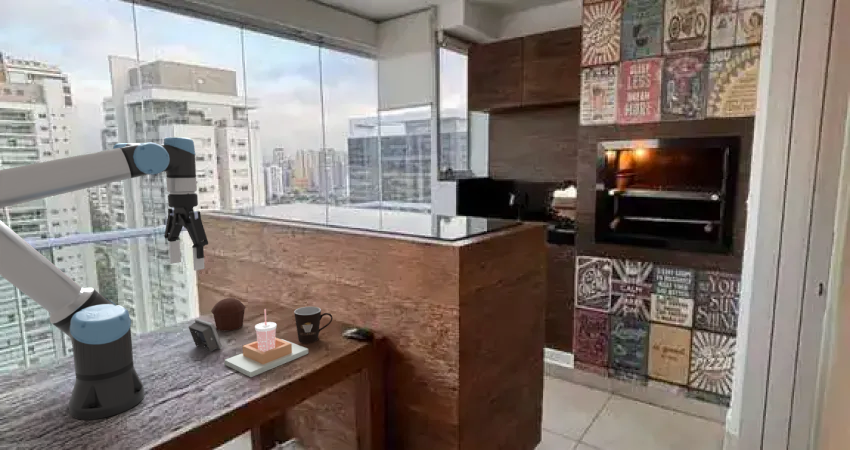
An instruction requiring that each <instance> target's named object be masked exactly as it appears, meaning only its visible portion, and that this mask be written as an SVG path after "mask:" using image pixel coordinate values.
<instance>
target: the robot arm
mask: <svg viewBox="0 0 850 450" xmlns="http://www.w3.org/2000/svg"><path fill="white" fill-rule="evenodd" d="M196 154H197V153H196V150H195V142H194V140H193V139H192V138H190V137H178V136H177V137H173V136H171V137H169V136H167V137H164V139H163V143H161V144H158V143H156V142H151V141H147V142H142V143H134V142H133V143H130V142H129V143H128V142H125V143H115V144H114V145H113V147H112V148H110V149H105V150H100V151H94V152H90V153H84V154H79V155H78V154H77V155H73V156H69V157H63V158H58V159H53V160H47V161H46V160H45V161H43V162H36V163H31V164H30V163H29V164H25V165H22V166H21V165H20V166H15V167H8V168H6V169H5V168H4V169H0V209H1V208H6V207H12V206H14V205H16V206H17V205H19V204H23V203H27V202H28V203H29V202H32V201H37V200H41V199H46V198H49V197H50V198H51V197H55V196H59V195H65V194H68V193H72V192H76V191H81V190H85V189H91V188H94V187H98V186H103V185H106V184H107V185H108V184H111V183H116V182H120V181H123V180H129V179H133V178H139V177H143V176H148V175H157V174H161V173H165V174H166V176H165V179H166V192H168V194H167V204H168V207H169V208H167V217H166V218H167V220H166V224H165V231H164V239H167V241H168V247H169V262H170V264H173V265H174V264H178V263H181V262H182V259H181V257H182V256H181V242H180V240H181V239H180V234H181V232H182V229H183V228H184V229H186V231H187V234H188V235H189V238H190V240H191V242H192V244H193V245H192V246H191V248H192V260H193V261H192V263H193V271H201V270H205V254H204V247H205V246H208V245H209V241H208V238H207V234H206V232H205V227H204V225H203V224H204V223H203V221H202V216H201V214H202V213H201V211H200V210H196V211H195V210H194V207H197V206H198V205H199V198H198V196H199V195H198V194H197V193H196V192H197V191H198V188H197V186H198V185H197V184H198V180H197V168H196ZM0 277H2V278H4V280H6V281H7V282H8V283H10V284H11V285H13V286H14V287H15V288H16V289H18V290H19V291H20V292H21V293H23V294H25V296H27V297H28V298H30V299H31V300H32V301H34V302H35V303H36V304H37V305H39V306H40V307H41V308H43V309H44V310H45V311H46V312H48V313H49V314H50V316H49V323H50V324H52V325H53V326H54V327H56V328H57V329H58V330H60V331H61V332H63V333H64V334H65V335H67V336H68V337H69V338H70V342H71V345H72V354H73V363H74V373H75V382H74V386H73V389H72V392H71V396H70V398H69V404H68V407H69V408H68V409H69V414H70V416H72V417H73V418H74V419H77V420H99V419H104V418H108V417H112V416H116V415H118V414H119V415H120V414H121V413H123V412H126V411H128V410H131V409H132V408H134V407H135V406H137V405H139V404H140V403H141V402H142V401H143V399H144V398H145V387H144V384H143V382H142V380H141V378H140V376H139V375H138V373H137V370H136V369H135V365H134V354H133V353H134V352H133V344H132V343H133V341H132V332H131V331H132V330H131V324H132V318H131V317H130V312H129V310H128V309H127V308H126V307H124V306H122V305H119V304H118V305H117V304H116V303H114V302H113V300H110V299H109V298H105V296H103V295H102V294H101V293H100V292H98V290H96V289H95V288H94V287H82V286H81V285H79V284H78V283H77V282H76V281H74V280H73V279H72V278H71V277H70V276H68V275H67V274H66V273H65V272H64V271H62V270H61V269H60V268H59V267H57V266H56V265H55V264H54V263H52V262H51V261H50V260H49V258H47V257H46V256H44V255H43V254H42V253H41V252H39V251H38V250H37V249H35V248H34V247H33V246H32V245H31V244H29V243H28V242H27V241H26V240H25V239H24V238H23V237H21V236H20V235H19V234H17V232H15V231H14V230H13V229H12V228H11V227H9V226H8V225H7V224H6V223H4V222H3V221H2V220H0Z"/></svg>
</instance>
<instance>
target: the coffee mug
mask: <svg viewBox="0 0 850 450" xmlns="http://www.w3.org/2000/svg"><path fill="white" fill-rule="evenodd" d="M321 313H322V309H321V308H320V307H319V306H303V307H299V308H296V309H295V310H294V311H293V314H294V320H295V326H296V331H297V332H296V333H297V339H298V342H299V343H301V344H311V343H315V342H317V341H318V340H319V333H320V332H321V331H322V330H324V329H325V328H327V327H328V326H329V325H330V324H331V323H332V321H333V316H332V313H330V312H325V313H322V314H321ZM324 316H329V317H330V321H329V322H328V323H327V324H325V325H324V326H322V327H321V328H320V325H321V324H320V323H321V320H322V318H323V317H324Z"/></svg>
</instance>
